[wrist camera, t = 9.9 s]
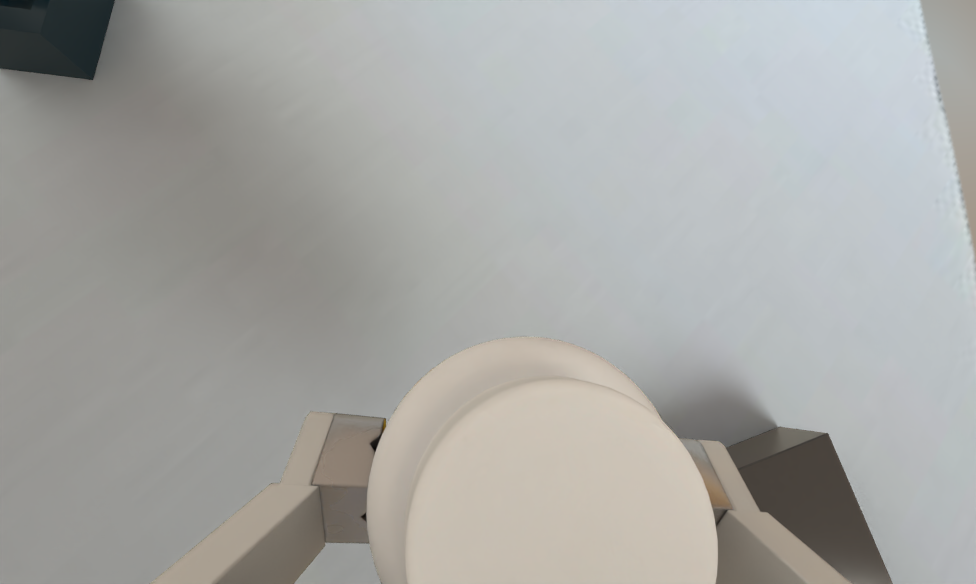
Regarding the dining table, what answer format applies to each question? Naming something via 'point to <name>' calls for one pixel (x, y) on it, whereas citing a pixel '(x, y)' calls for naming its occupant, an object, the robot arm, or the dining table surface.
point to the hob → (811, 498)
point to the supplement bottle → (535, 477)
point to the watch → (53, 35)
